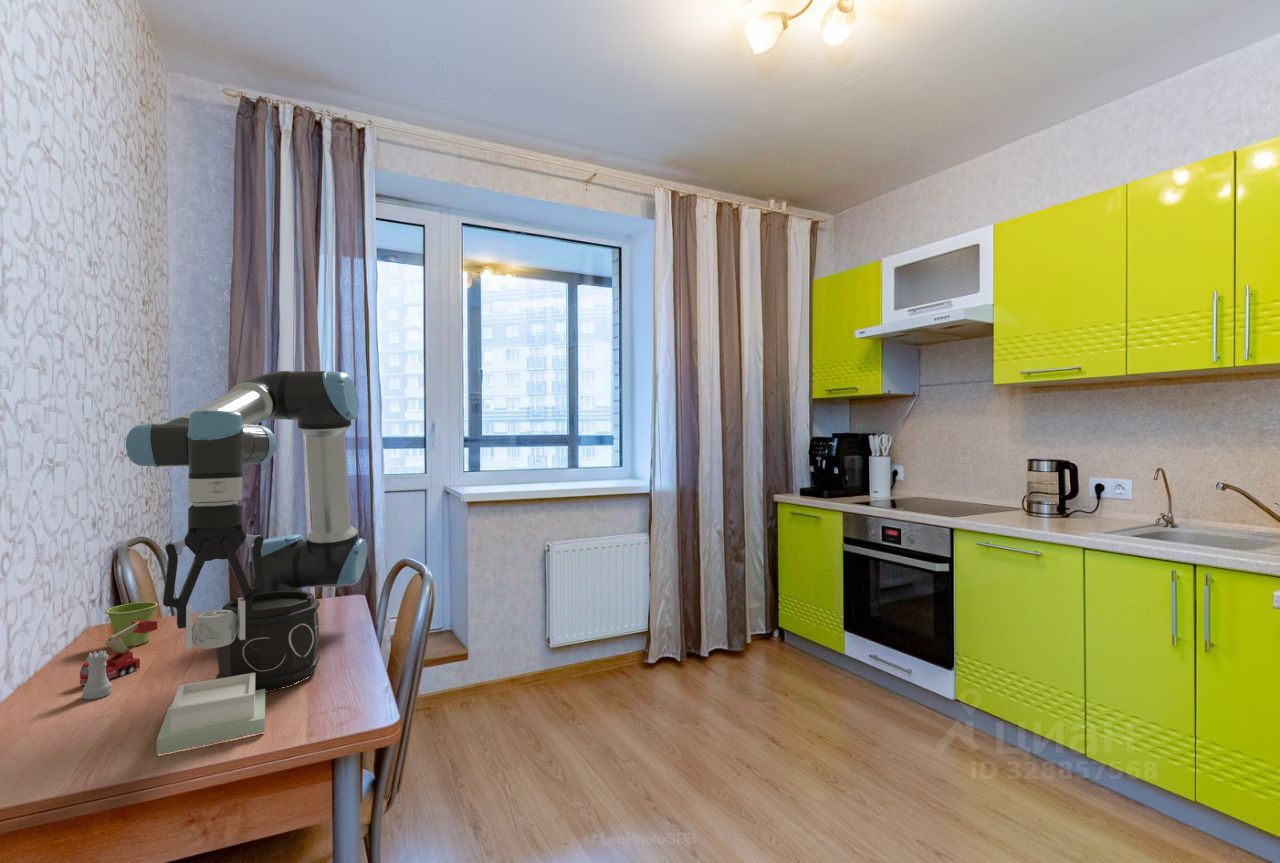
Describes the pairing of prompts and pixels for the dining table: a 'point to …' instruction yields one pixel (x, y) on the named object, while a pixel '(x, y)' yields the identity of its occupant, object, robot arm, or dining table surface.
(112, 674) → the toy fire truck
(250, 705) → the tower base
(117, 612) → the plant pot
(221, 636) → the die
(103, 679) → the rook chess piece
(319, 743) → the dining table surface
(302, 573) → the robot arm
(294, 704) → the dining table surface
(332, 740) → the dining table surface
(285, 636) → the black bucket
